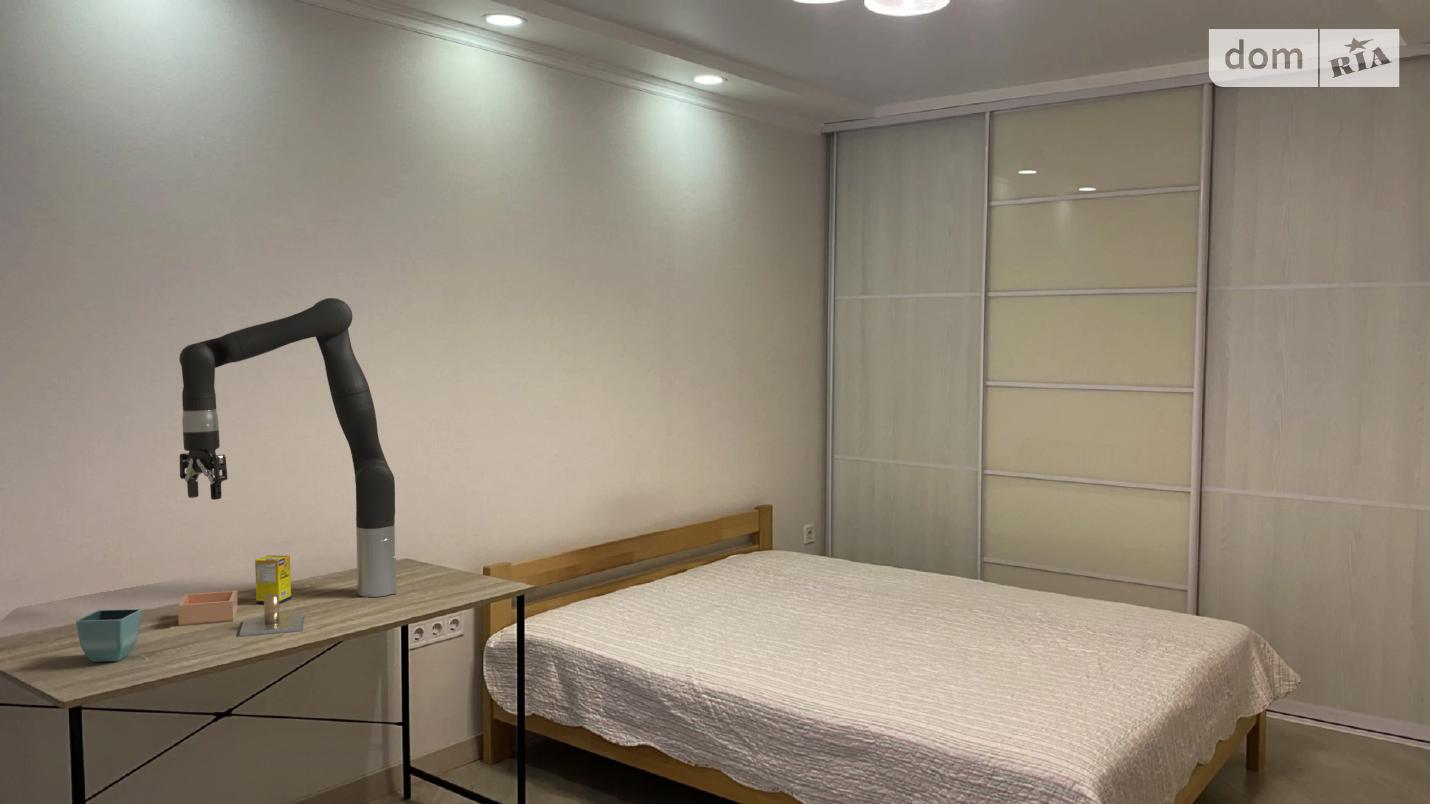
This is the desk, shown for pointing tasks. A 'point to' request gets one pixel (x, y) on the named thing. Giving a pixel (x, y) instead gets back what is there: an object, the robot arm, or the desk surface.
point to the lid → (271, 620)
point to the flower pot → (109, 633)
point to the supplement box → (273, 577)
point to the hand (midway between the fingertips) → (204, 498)
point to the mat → (274, 633)
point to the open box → (207, 608)
